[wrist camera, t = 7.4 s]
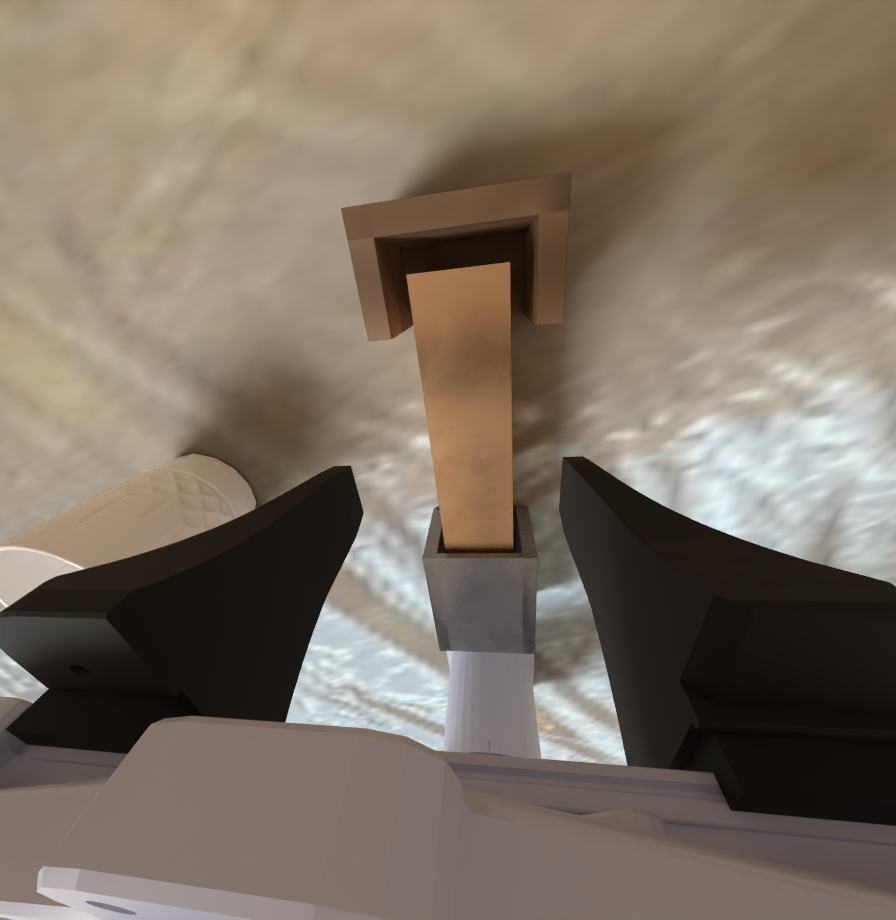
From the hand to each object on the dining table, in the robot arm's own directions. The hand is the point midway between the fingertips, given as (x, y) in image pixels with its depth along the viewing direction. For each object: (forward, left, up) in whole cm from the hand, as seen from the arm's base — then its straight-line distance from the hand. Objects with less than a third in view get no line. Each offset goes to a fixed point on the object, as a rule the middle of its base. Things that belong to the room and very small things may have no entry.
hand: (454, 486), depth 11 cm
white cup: (-6, +20, -10) cm, 23 cm away
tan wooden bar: (-1, 0, -9) cm, 9 cm away
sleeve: (-12, 0, -9) cm, 15 cm away
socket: (+7, 0, -9) cm, 11 cm away
